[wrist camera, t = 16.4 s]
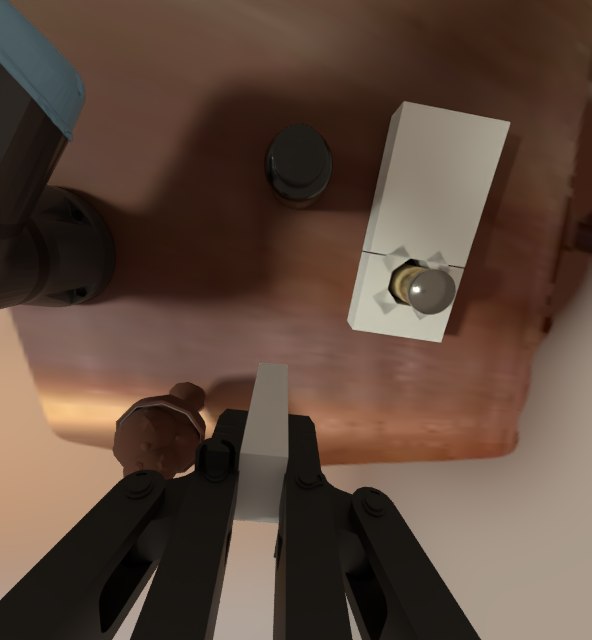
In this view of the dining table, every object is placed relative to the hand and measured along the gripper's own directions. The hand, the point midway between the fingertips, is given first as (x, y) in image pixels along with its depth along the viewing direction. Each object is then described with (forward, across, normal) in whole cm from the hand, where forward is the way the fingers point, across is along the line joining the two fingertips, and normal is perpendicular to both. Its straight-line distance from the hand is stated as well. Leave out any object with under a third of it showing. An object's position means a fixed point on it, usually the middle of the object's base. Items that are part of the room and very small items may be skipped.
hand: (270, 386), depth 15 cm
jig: (+26, +16, +10) cm, 32 cm away
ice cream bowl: (+26, -12, -18) cm, 34 cm away
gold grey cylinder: (+26, +16, +4) cm, 31 cm away
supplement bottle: (+26, 0, +14) cm, 30 cm away
